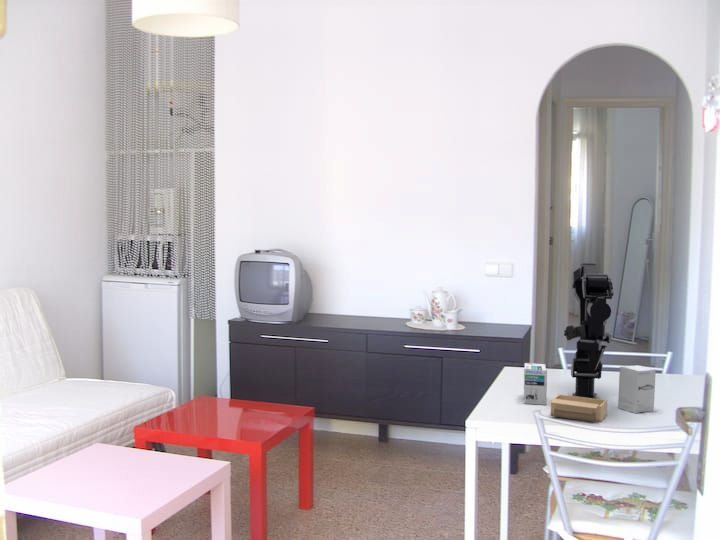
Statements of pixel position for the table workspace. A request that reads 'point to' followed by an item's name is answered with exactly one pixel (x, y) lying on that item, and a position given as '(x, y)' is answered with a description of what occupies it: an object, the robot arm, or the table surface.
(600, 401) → the carton
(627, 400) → the supplement box
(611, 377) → the table surface
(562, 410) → the flap
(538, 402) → the light bulb box
